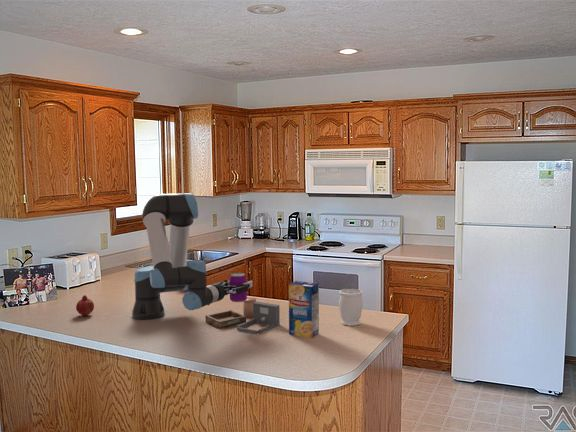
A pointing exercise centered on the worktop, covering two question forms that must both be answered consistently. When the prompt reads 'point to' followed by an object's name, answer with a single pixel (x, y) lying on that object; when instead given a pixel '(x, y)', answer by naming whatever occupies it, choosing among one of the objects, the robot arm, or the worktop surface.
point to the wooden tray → (225, 319)
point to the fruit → (85, 306)
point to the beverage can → (238, 280)
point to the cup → (248, 307)
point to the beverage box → (304, 309)
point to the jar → (350, 306)
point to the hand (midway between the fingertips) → (244, 282)
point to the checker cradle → (262, 317)
